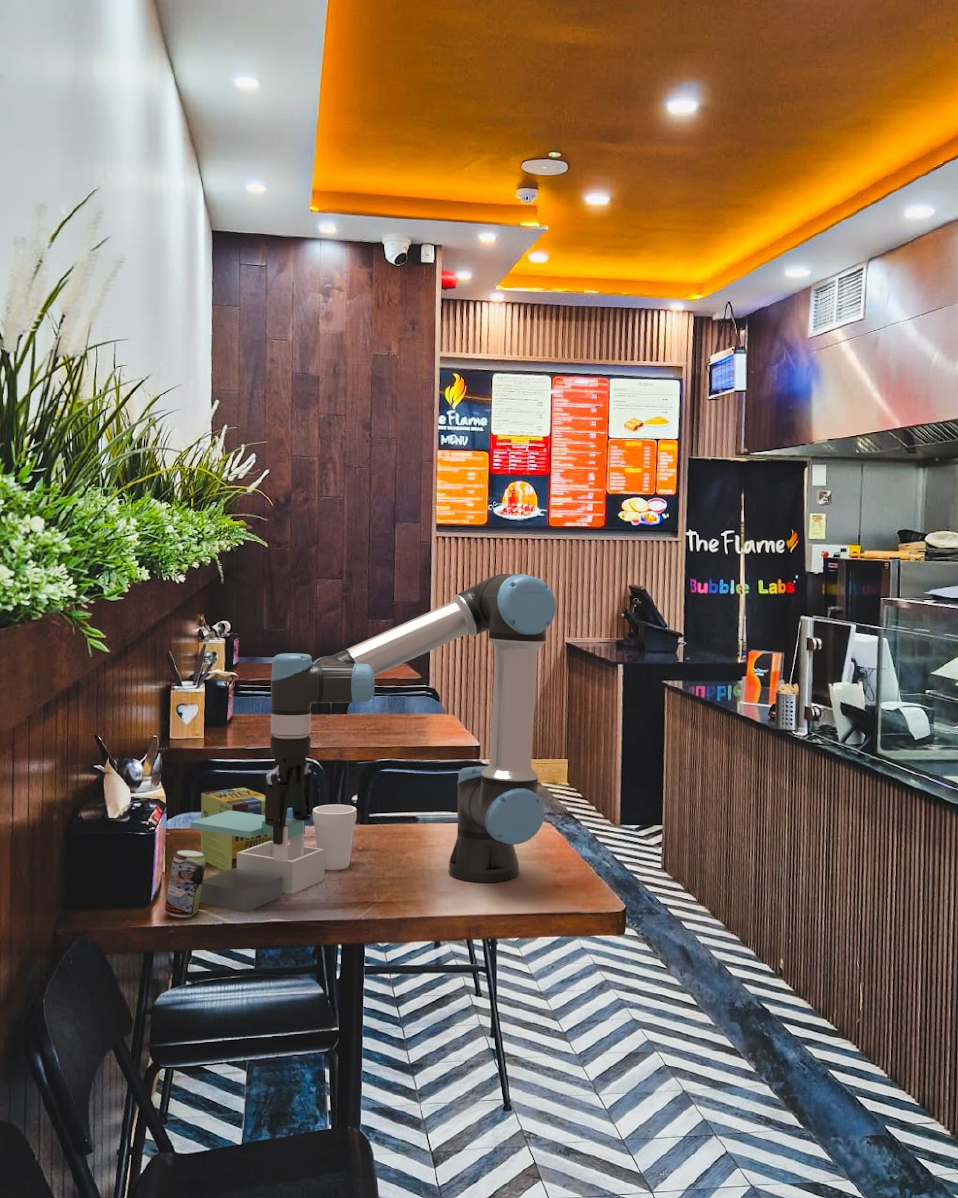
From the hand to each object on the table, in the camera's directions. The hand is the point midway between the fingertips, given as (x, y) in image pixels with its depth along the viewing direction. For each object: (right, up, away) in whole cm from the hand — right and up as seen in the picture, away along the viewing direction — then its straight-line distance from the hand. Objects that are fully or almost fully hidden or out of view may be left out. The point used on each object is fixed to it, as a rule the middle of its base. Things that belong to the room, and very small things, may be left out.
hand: (288, 857), depth 201 cm
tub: (-5, -10, +17) cm, 20 cm away
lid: (-8, +4, +4) cm, 10 cm away
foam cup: (+5, -10, +29) cm, 31 cm away
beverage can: (-19, -10, -2) cm, 22 cm away
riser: (-11, -10, +6) cm, 16 cm away
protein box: (-17, -10, +31) cm, 37 cm away
